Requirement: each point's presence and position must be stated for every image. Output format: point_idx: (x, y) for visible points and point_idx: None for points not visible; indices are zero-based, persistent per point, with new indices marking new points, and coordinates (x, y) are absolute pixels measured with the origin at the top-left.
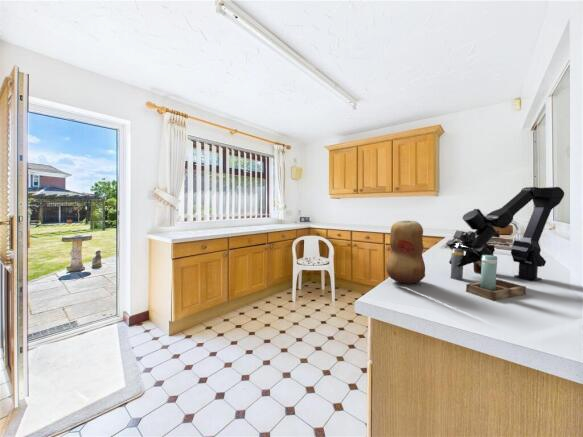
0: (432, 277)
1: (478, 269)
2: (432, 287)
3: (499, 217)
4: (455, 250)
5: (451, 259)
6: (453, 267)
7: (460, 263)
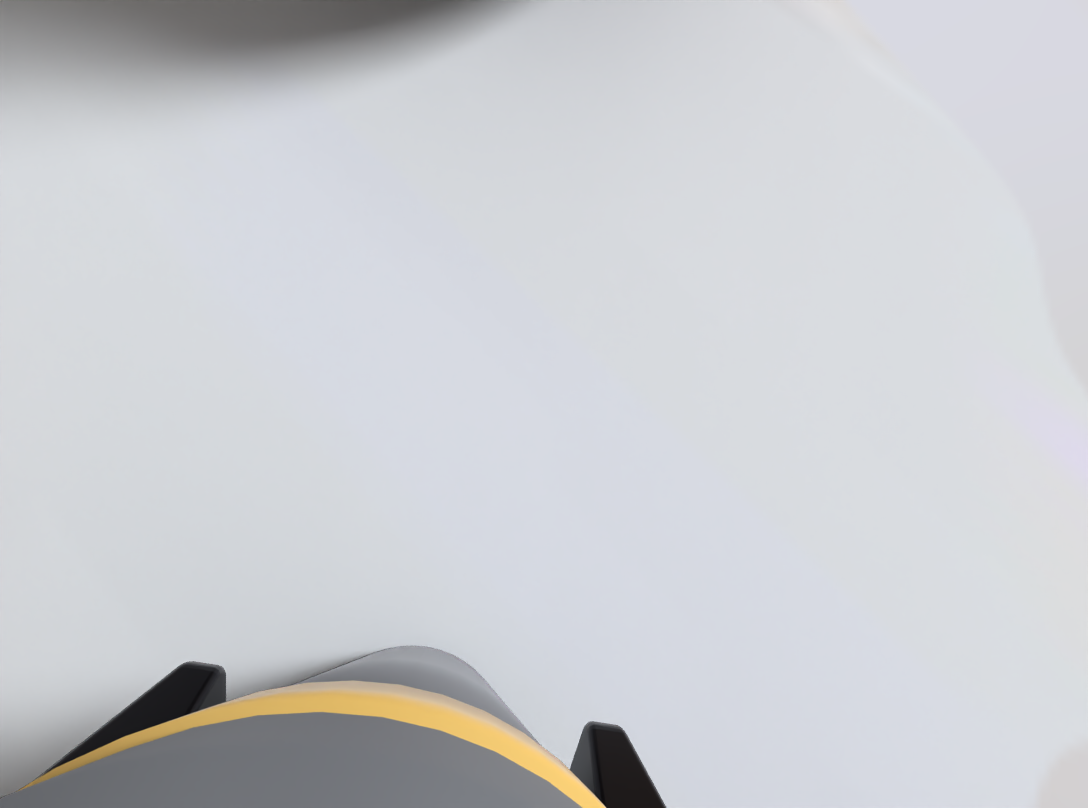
0: (689, 459)
1: None
2: (268, 63)
3: None
4: (68, 778)
5: (533, 738)
6: (380, 658)
7: (87, 751)
